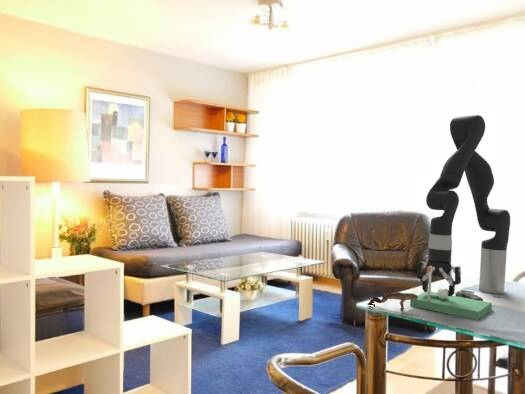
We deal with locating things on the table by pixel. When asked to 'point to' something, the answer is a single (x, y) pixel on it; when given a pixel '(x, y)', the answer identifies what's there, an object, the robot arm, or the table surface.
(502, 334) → the table surface
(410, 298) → the toy
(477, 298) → the rock
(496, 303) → the table surface
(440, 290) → the ball
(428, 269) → the pin
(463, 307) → the green
